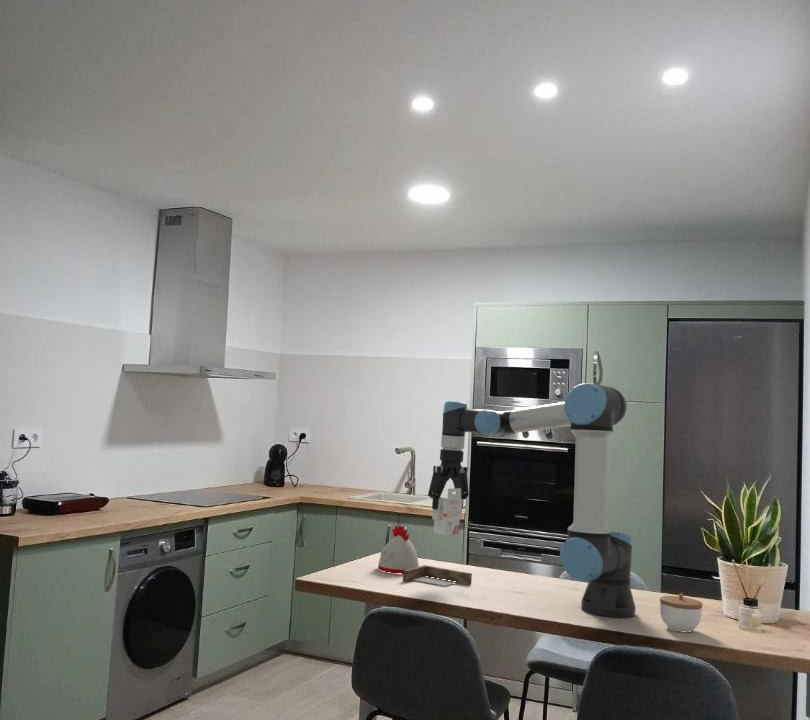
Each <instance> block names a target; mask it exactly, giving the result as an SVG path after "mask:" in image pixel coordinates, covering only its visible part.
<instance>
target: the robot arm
mask: <svg viewBox="0 0 810 720" xmlns="http://www.w3.org/2000/svg"><path fill="white" fill-rule="evenodd" d="M627 407H628V405H627V401H626V398H625V396H624V395H623V394H622V393H621V392H620V391H619V390H618V389H616V388H613V387H611V386H605V385H601V384H597V383H591V382H590V383H587V382H586V383H580V384H577V385H576V386H574V387H573V388H572V389H571V390H570V391H569V392H568V393H566V396H565V400H564V401H563V402H558V403H557V402H555V403H550V404H544V405H543V404H542V405H538V406H530V407H524V408H516V409H511V410H505V411H497V410H491V409H486V408H485V409H478V408H477V409H476V408H468V405H467V403H466V402H463V401H462V402H461V401H453V400H451V401H450V400H449V401H446V402H445V403H444V407H443V411H442V412H443V413H442V431H441V441H440V447H441V449H440V451H439V454H440V455H439V460H440V461H441V463H440V465H433V468H432V469H433V470H432V477H431V480H430V481H431V482H430V485H429V489H428V492H427V497H430V499H432V503H431V508H432V517H431V518H432V519H431V520H433V521H434V520H438V521H439V520H440V512H441V500H440V497H442V494H443V491H444V490H445V487H446V484H447V482H449V481H450V479H451V481H452V484H453V487H454V488H461V509H460V520H462V515H463V508H464V500H467V499H468V497H469V496H470V494H469V493H470V492H469V482H468V470H469V468H468V467H467V466H463V465H462V463H463V462H464V451H463V450H464V448H465V435H466V433H473V434H474V433H475V434H482V435H499V436H500V435H501V436H511V435H512V436H513V435H514V434H518V433H525V432H534V431H541V430H547V429H548V430H549V429H556V428H564V427H570V432H571V433H572V434H573V435H574V436H575V437H574V438H575V453H574V454H575V455H574V456H575V457H574V489H573V490H574V491H573V495H574V496H573V521H572V524H571V525H569V526H568V527H567V539H566V541H564V543H562V545H561V546H560V547H561V548H560V551H559V559H560V563H561V566H562V568H563V570H564V571H565V572H566V573H567V574H568V576H570V577H572V578H573V579H575V580H578V581H583V582H584V581H588V582H587V585H586V588H585V590H584V593H583V595H582V598H581V602H580V603H581V606H580V608H581V610H583V611H584V612H587V613H589V614H593V615H595V616H596V615H598V616H602V617H609V618H622V617H623V618H632V617H634V615H635V616H636V605H635V600H634V597H633V593H632V589H631V571H632V570H631V569H632V554H633V553H632V552H633V542H632V541H633V540H632V539H633V538H632V536H631V535H630V534H629V533H626V532H620V531H614V530H610V529H609V528H608V526H606V496H607V495H606V494H607V493H606V492H607V457H608V456H607V453H608V452H607V451H608V438H609V437H610V436H611V435H612V434H613V432H614V431H613V429H614V428H613V427H614V426H615V425H618V424H619V423H620V422H621V421H622V420H623V419H624V417H625V416H626V413H627ZM455 494H457V492H455ZM631 616H632V617H631ZM623 618H622V619H623Z"/></svg>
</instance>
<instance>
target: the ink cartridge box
mask: <svg viewBox="0 0 810 720" xmlns="http://www.w3.org/2000/svg"><path fill="white" fill-rule="evenodd" d="M456 492H457V494H456ZM440 500H441V512H440V520H439V521H438V520H434V519H433V533H432V534H436V535H440V536H446V537H447V536H452V535H453V536H454V535H457V534H459V533H460V509H461V488H448V489H447V495H445V496H443V495H441V496H440Z"/></svg>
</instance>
